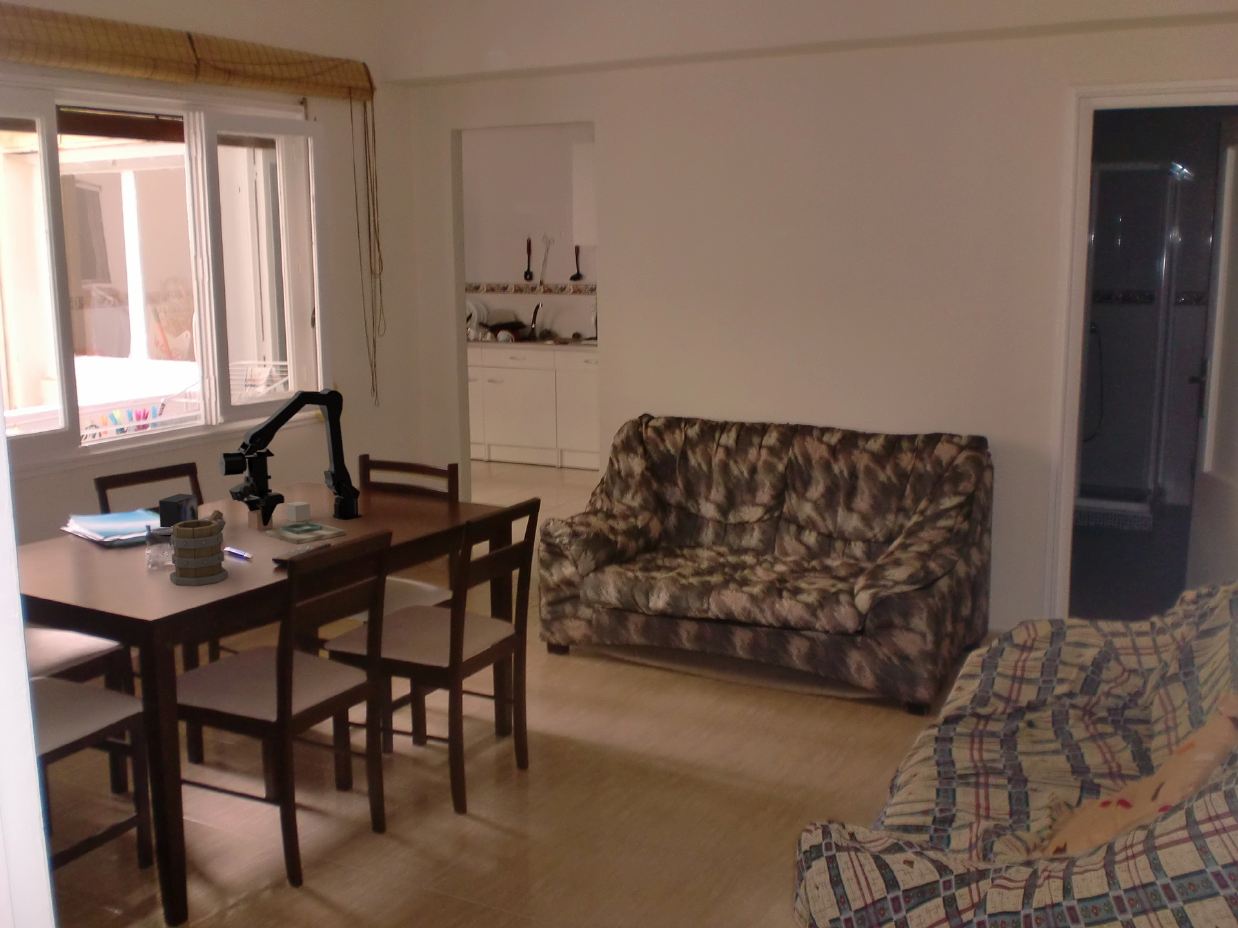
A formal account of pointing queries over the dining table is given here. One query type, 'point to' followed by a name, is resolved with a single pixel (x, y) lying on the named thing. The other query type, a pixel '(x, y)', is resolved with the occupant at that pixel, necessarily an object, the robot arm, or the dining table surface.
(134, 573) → the dining table surface
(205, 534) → the tankard
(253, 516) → the terracotta block
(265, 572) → the dining table surface
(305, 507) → the cream block
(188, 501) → the small box
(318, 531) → the base plate
